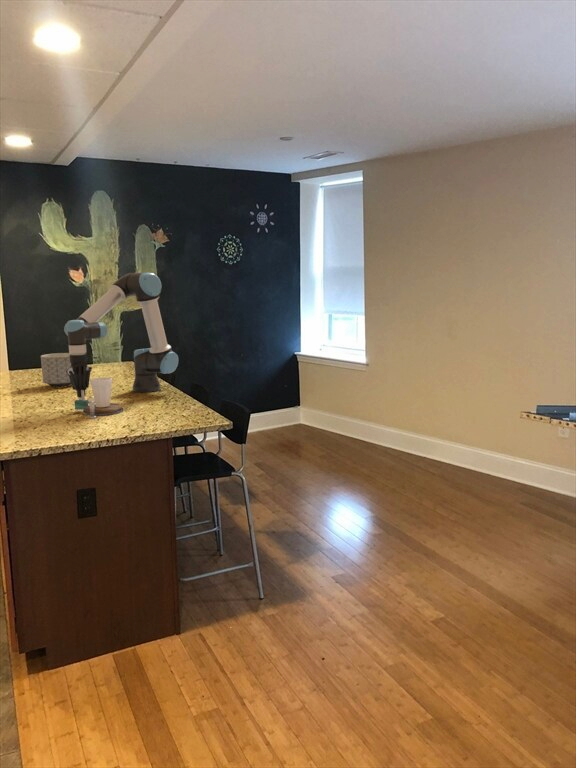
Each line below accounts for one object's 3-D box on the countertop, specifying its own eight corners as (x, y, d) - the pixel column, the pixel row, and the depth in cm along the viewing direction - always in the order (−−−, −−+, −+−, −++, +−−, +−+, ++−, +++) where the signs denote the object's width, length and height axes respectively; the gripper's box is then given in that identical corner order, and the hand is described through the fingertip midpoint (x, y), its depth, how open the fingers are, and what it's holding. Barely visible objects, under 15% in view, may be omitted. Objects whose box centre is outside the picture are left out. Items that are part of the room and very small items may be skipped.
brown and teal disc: (83, 405, 291) (83, 397, 290) (127, 406, 289) (126, 397, 288) (68, 413, 274) (67, 404, 274) (114, 413, 272) (113, 404, 272)
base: (122, 406, 293) (121, 404, 293) (124, 413, 276) (124, 412, 276) (82, 409, 287) (82, 407, 287) (83, 417, 270) (83, 415, 270)
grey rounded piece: (96, 416, 272) (95, 397, 271) (97, 418, 269) (95, 398, 267) (88, 417, 271) (87, 397, 269) (88, 418, 268) (87, 399, 266)
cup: (106, 403, 288) (104, 376, 286) (118, 406, 282) (116, 378, 279) (87, 407, 281) (85, 379, 279) (98, 410, 274) (96, 381, 272)
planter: (85, 384, 355) (83, 354, 352) (57, 390, 339) (55, 357, 336) (64, 382, 365) (61, 352, 362) (36, 387, 349) (33, 356, 346)
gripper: (83, 351, 287) (87, 400, 292) (60, 355, 277) (65, 405, 281) (94, 352, 283) (98, 401, 288) (71, 356, 273) (76, 407, 277)
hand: (82, 403), depth 285 cm, fingers closed
